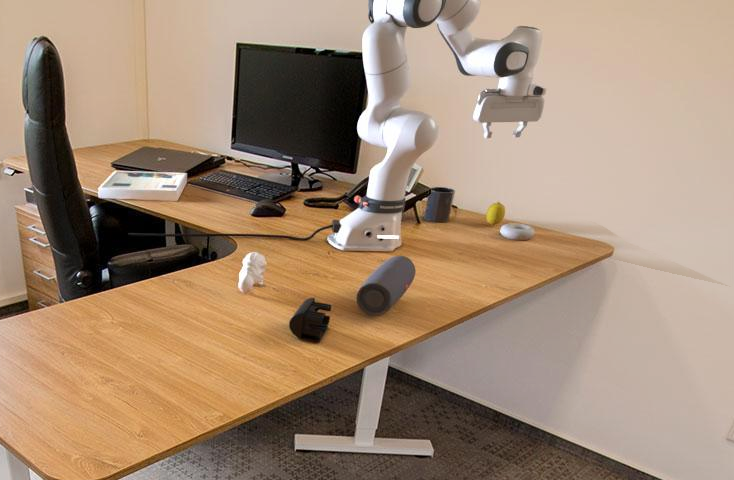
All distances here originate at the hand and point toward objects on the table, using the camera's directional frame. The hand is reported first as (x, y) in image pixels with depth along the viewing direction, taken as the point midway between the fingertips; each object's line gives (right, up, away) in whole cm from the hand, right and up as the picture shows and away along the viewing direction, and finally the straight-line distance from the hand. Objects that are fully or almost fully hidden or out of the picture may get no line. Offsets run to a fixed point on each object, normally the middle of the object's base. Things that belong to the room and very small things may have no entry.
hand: (501, 137), depth 210 cm
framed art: (-111, +3, +64) cm, 128 cm away
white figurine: (-82, -51, -28) cm, 101 cm away
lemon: (+6, -23, +19) cm, 30 cm away
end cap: (-72, -65, -53) cm, 110 cm away
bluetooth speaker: (-49, -57, -39) cm, 85 cm away
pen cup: (-9, -18, +26) cm, 33 cm away
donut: (+9, -29, +9) cm, 31 cm away
